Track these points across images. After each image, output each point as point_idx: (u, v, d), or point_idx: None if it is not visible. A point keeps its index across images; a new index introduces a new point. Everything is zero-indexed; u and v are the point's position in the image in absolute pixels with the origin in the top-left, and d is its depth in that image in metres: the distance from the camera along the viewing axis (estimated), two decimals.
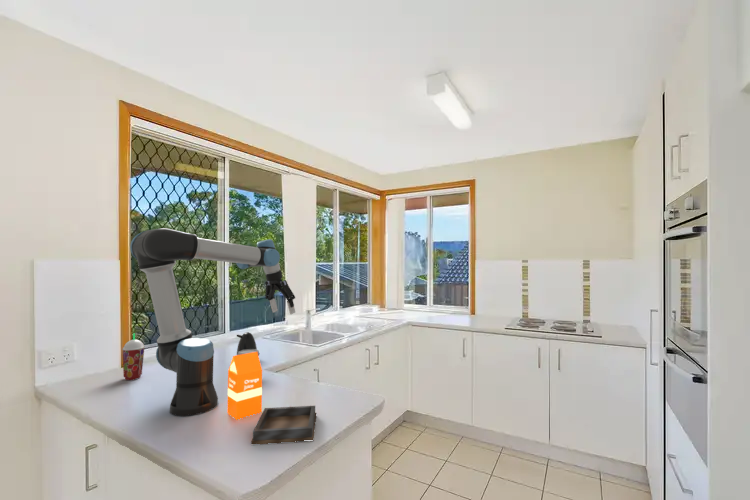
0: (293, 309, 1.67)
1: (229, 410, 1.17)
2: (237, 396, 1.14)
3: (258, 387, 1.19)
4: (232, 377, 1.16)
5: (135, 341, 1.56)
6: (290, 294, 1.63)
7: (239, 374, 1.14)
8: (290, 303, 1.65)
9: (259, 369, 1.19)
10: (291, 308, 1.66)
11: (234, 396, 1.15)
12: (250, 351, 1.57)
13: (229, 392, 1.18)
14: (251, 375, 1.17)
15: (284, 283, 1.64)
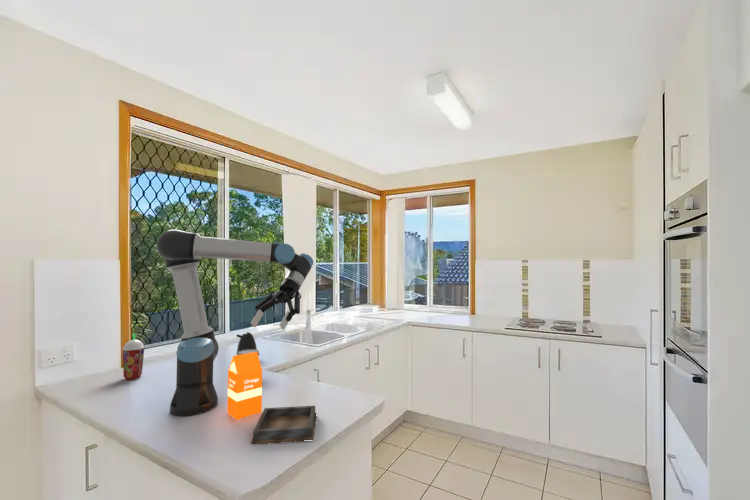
0: (285, 324, 1.29)
1: (229, 410, 1.17)
2: (237, 396, 1.14)
3: (258, 387, 1.19)
4: (232, 377, 1.16)
5: (135, 341, 1.56)
6: (298, 306, 1.33)
7: (239, 374, 1.14)
8: (289, 314, 1.30)
9: (259, 369, 1.19)
10: (285, 321, 1.29)
11: (234, 396, 1.15)
12: (250, 351, 1.57)
13: (229, 393, 1.18)
14: (251, 375, 1.17)
15: (299, 294, 1.38)
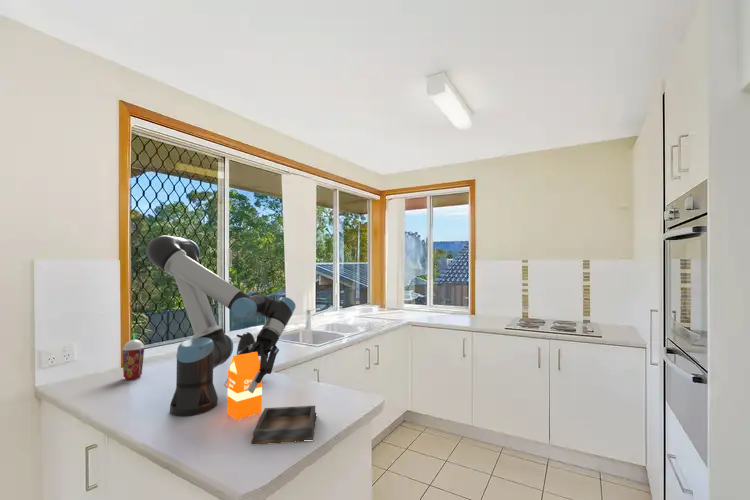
0: (254, 387, 1.16)
1: (229, 410, 1.17)
2: (237, 396, 1.14)
3: (258, 387, 1.19)
4: (232, 377, 1.16)
5: (135, 341, 1.56)
6: (270, 364, 1.20)
7: (239, 374, 1.14)
8: (259, 375, 1.17)
9: None
10: (254, 383, 1.16)
11: (234, 396, 1.15)
12: None
13: (229, 392, 1.18)
14: (251, 375, 1.17)
15: (276, 349, 1.24)
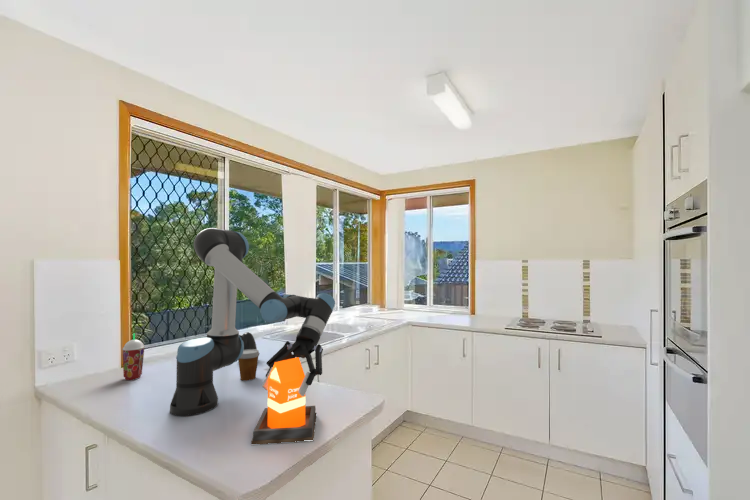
0: (305, 390, 1.04)
1: (270, 422, 1.05)
2: (281, 407, 1.02)
3: (301, 396, 1.07)
4: (274, 386, 1.05)
5: (135, 341, 1.56)
6: (320, 364, 1.08)
7: (282, 382, 1.03)
8: (310, 376, 1.05)
9: (302, 376, 1.08)
10: (305, 385, 1.04)
11: (277, 407, 1.03)
12: (250, 351, 1.57)
13: (270, 403, 1.06)
14: (295, 384, 1.06)
15: (320, 348, 1.13)
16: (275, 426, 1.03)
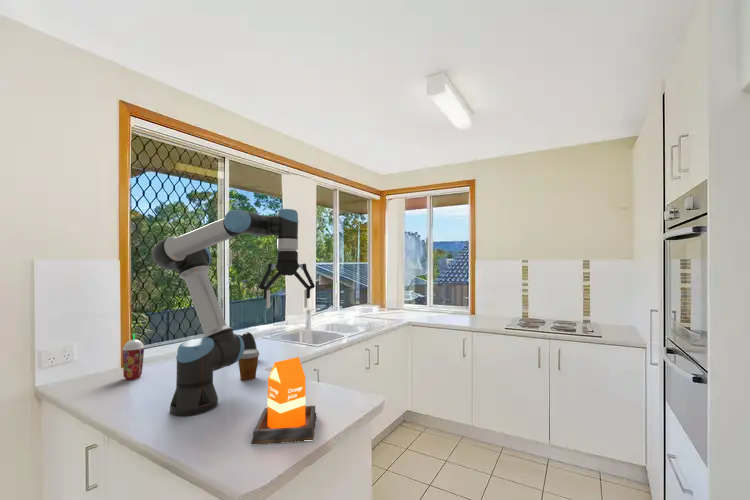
0: None
1: (270, 422, 1.05)
2: (281, 407, 1.02)
3: (301, 396, 1.07)
4: (274, 386, 1.05)
5: (135, 341, 1.56)
6: None
7: (282, 383, 1.03)
8: (308, 293, 1.29)
9: (302, 376, 1.08)
10: (306, 300, 1.30)
11: (277, 407, 1.03)
12: (250, 351, 1.57)
13: (270, 403, 1.06)
14: (295, 384, 1.06)
15: None
16: (275, 426, 1.03)
